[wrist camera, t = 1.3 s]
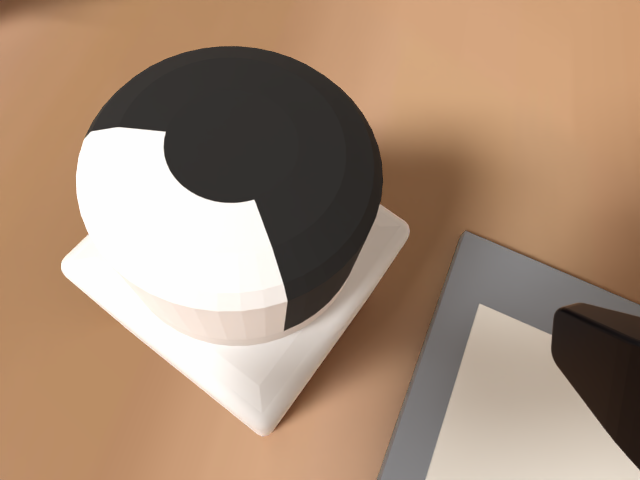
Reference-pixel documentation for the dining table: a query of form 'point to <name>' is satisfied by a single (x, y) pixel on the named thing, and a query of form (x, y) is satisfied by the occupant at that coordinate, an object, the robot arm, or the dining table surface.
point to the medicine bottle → (233, 221)
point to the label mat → (501, 380)
